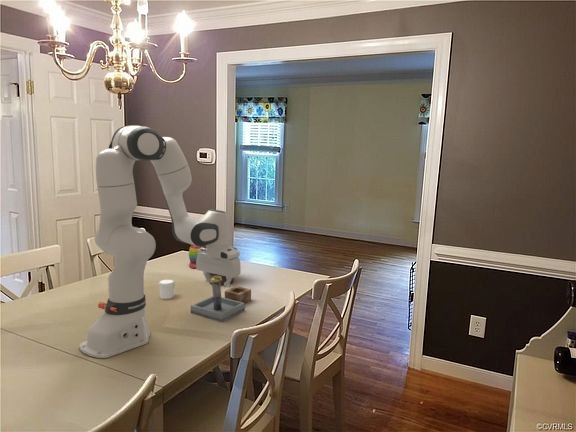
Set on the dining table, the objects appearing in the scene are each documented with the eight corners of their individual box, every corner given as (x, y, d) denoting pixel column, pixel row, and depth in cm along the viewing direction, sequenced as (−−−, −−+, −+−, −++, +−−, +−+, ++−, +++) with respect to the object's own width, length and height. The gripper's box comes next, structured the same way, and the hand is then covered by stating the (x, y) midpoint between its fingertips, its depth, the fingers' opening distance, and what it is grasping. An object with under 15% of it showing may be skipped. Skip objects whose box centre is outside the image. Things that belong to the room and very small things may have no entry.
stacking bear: (193, 269, 219) (192, 237, 216) (184, 265, 226) (184, 233, 223) (211, 266, 226) (210, 234, 223) (202, 262, 233) (201, 231, 230)
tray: (222, 322, 154) (222, 314, 153) (190, 312, 162) (190, 305, 161) (244, 310, 166) (244, 303, 165) (214, 301, 174) (214, 295, 173)
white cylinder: (170, 300, 174) (169, 284, 173) (155, 298, 176) (155, 283, 175) (177, 294, 181) (177, 279, 180) (163, 293, 182) (163, 278, 181)
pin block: (239, 306, 170) (239, 294, 169) (224, 302, 174) (224, 291, 173) (251, 300, 176) (251, 289, 175) (236, 296, 180) (236, 286, 180)
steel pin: (218, 312, 161) (216, 280, 158) (209, 309, 163) (207, 278, 160) (226, 307, 164) (224, 276, 162) (217, 305, 167) (215, 274, 164)
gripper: (192, 248, 162) (192, 281, 164) (232, 256, 152) (232, 291, 154) (203, 245, 168) (203, 277, 170) (243, 252, 157) (242, 287, 160)
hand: (217, 284), depth 162 cm, fingers open, 8 cm apart
